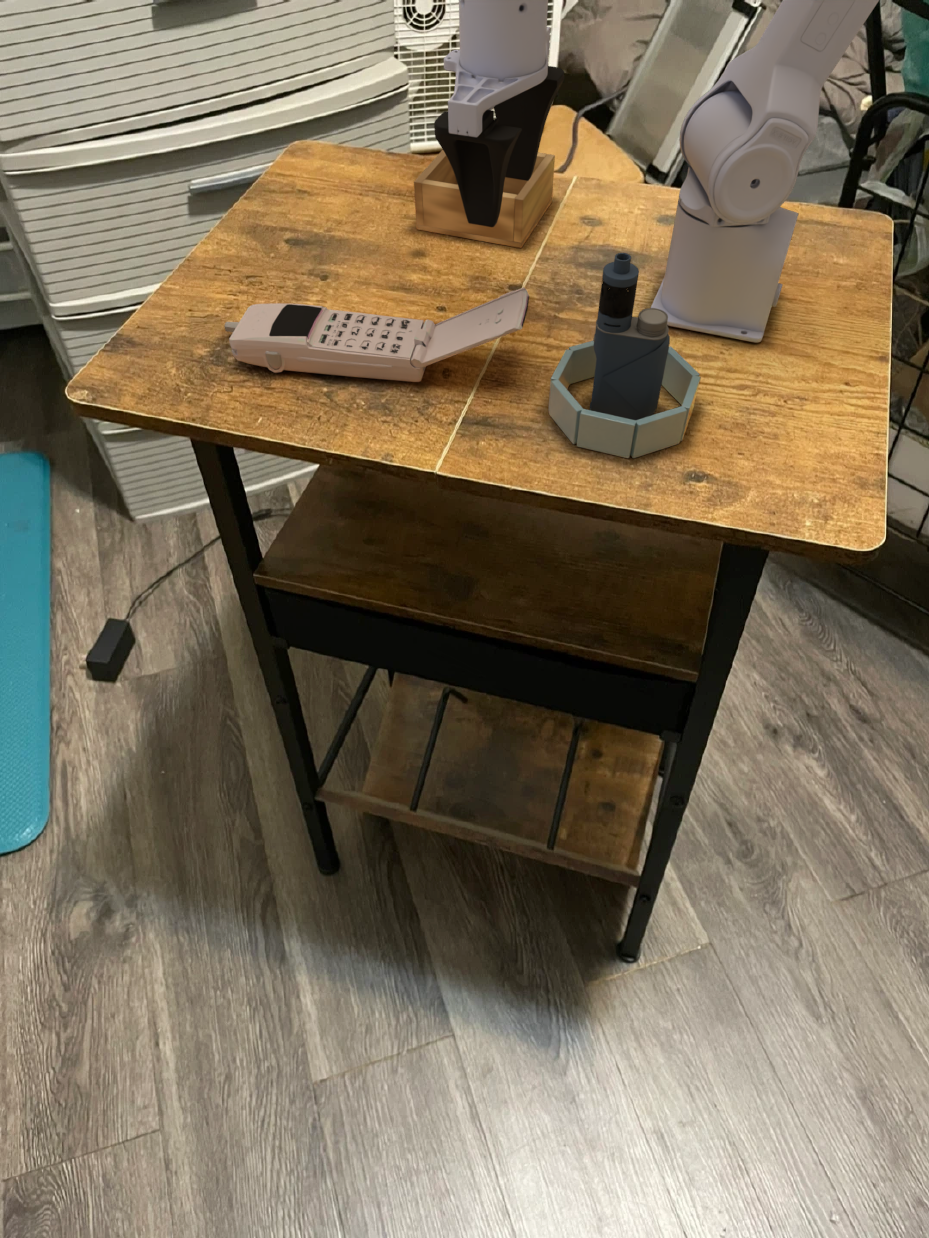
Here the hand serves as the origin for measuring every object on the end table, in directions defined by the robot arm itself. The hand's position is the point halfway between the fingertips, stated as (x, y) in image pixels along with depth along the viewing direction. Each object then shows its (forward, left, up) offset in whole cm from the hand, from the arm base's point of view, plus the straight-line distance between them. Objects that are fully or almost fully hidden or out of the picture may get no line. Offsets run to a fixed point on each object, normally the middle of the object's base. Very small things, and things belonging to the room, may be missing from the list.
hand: (500, 199), depth 65 cm
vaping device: (-13, +8, -10) cm, 18 cm away
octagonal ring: (-13, +8, -10) cm, 18 cm away
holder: (+7, -17, -10) cm, 21 cm away
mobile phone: (+8, +9, -10) cm, 16 cm away
